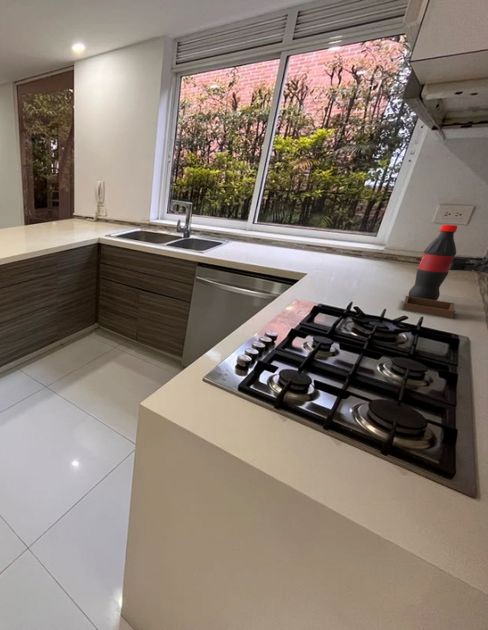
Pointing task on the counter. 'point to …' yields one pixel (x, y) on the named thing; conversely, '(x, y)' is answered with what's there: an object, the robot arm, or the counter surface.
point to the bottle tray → (429, 307)
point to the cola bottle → (435, 265)
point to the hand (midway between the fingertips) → (435, 262)
